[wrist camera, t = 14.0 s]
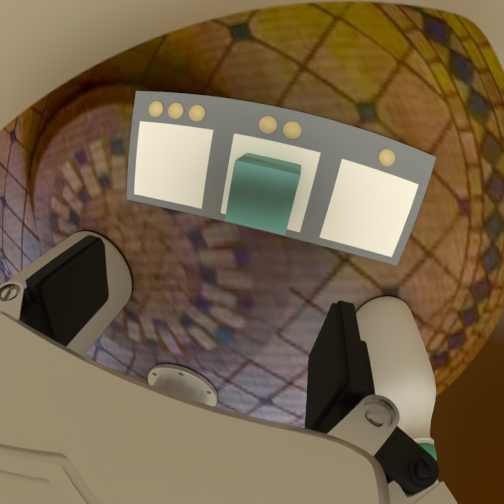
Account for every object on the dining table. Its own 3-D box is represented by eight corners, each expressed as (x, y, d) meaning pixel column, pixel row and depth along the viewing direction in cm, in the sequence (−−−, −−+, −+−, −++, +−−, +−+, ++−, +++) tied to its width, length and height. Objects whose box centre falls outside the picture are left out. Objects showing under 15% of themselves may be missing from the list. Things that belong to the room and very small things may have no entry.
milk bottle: (355, 294, 32) (378, 459, 14) (416, 293, 30) (471, 441, 12) (347, 343, 35) (354, 489, 17) (402, 341, 33) (432, 478, 16)
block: (288, 215, 28) (285, 235, 23) (237, 202, 28) (224, 220, 23) (301, 165, 25) (300, 175, 21) (247, 152, 26) (235, 160, 21)
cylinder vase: (124, 320, 40) (33, 448, 18) (64, 276, 39) (-39, 378, 17) (144, 261, 35) (11, 417, 13) (73, 212, 33) (-72, 317, 11)
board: (393, 260, 29) (397, 267, 28) (132, 196, 31) (125, 200, 30) (431, 155, 23) (437, 157, 22) (142, 91, 25) (134, 90, 24)
